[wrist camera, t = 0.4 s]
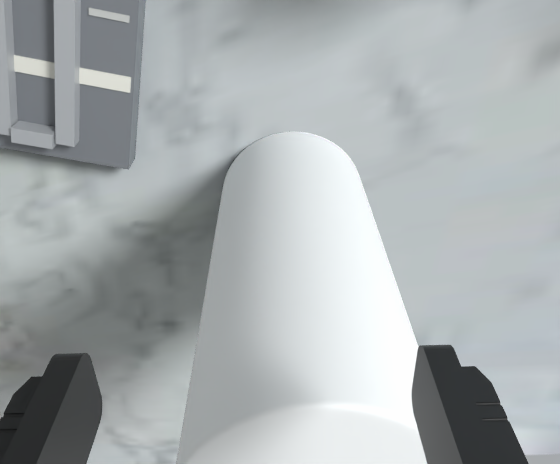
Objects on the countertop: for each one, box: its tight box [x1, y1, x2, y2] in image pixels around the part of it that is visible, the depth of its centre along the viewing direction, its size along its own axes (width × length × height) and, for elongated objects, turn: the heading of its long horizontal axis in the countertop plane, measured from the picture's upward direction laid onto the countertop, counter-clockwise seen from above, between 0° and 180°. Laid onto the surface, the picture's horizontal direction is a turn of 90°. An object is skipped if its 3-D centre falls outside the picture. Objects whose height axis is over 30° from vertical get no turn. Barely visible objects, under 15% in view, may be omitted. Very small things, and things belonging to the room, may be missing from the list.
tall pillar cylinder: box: [176, 132, 427, 464], centre depth 30 cm, size 11×11×25 cm
